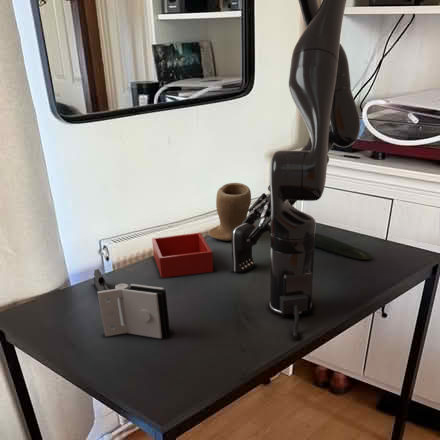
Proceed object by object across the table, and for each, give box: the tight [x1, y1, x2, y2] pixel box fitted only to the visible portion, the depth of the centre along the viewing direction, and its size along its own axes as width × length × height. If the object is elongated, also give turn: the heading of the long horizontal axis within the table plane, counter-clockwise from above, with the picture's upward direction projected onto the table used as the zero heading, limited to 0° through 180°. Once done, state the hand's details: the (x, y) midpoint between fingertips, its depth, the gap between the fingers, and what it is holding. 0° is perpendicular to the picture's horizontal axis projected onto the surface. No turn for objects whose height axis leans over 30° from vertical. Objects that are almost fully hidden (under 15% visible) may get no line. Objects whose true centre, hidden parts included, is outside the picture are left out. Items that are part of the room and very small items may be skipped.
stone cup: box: [208, 182, 257, 242], centre depth 164 cm, size 15×12×15 cm
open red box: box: [151, 232, 214, 279], centre depth 150 cm, size 16×14×5 cm
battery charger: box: [231, 223, 258, 273], centre depth 144 cm, size 7×4×11 cm, turn 143°
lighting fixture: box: [93, 268, 110, 302], centre depth 134 cm, size 19×3×4 cm, turn 22°
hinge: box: [97, 283, 171, 340], centre depth 118 cm, size 14×5×10 cm, turn 81°
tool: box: [314, 232, 373, 261], centre depth 153 cm, size 28×6×7 cm, turn 47°
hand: (246, 235), depth 142 cm, fingers open, 8 cm apart
